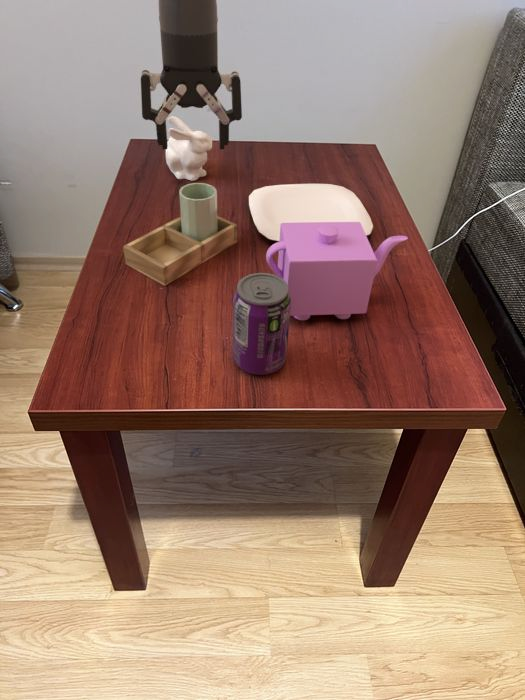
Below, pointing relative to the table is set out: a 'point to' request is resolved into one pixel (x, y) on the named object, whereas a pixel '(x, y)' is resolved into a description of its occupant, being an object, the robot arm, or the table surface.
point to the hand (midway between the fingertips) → (193, 147)
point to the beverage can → (261, 323)
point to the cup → (198, 211)
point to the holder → (176, 250)
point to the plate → (305, 207)
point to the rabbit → (187, 151)
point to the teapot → (328, 267)
